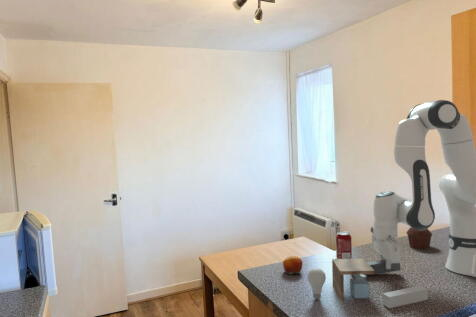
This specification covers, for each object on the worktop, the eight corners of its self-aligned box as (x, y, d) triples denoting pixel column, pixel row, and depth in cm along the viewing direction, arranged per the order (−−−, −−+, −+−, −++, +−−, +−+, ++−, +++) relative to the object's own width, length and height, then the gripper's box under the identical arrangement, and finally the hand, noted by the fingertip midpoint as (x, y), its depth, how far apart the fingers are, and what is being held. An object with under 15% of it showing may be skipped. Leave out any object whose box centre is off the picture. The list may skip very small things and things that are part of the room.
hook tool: (397, 267, 146) (396, 258, 145) (413, 280, 133) (412, 269, 132) (351, 274, 145) (350, 264, 145) (363, 287, 132) (362, 277, 132)
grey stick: (420, 296, 124) (420, 285, 124) (427, 300, 121) (427, 288, 121) (382, 305, 119) (382, 293, 119) (389, 309, 116) (389, 297, 116)
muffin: (436, 250, 171) (436, 229, 170) (412, 250, 172) (412, 229, 171) (425, 242, 183) (425, 223, 182) (403, 242, 184) (403, 223, 183)
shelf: (363, 285, 134) (363, 258, 134) (374, 299, 123) (374, 270, 122) (332, 285, 135) (332, 259, 134) (341, 300, 123) (340, 271, 122)
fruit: (289, 275, 142) (285, 255, 146) (283, 279, 149) (279, 259, 153) (308, 273, 144) (303, 253, 148) (301, 276, 151) (297, 257, 155)
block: (364, 291, 129) (364, 278, 129) (368, 298, 124) (368, 284, 124) (350, 292, 129) (350, 278, 129) (354, 298, 124) (354, 284, 124)
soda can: (352, 261, 159) (352, 235, 159) (336, 261, 161) (336, 234, 160) (350, 256, 166) (350, 231, 165) (335, 256, 167) (335, 230, 167)
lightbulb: (312, 294, 128) (311, 264, 128) (328, 298, 125) (328, 267, 124) (305, 301, 123) (304, 269, 123) (322, 305, 120) (321, 273, 119)
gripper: (404, 239, 133) (405, 276, 133) (383, 226, 153) (383, 257, 154) (387, 240, 133) (387, 276, 134) (368, 226, 153) (369, 258, 154)
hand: (385, 266), depth 144 cm, fingers closed on hook tool, 3 cm apart
